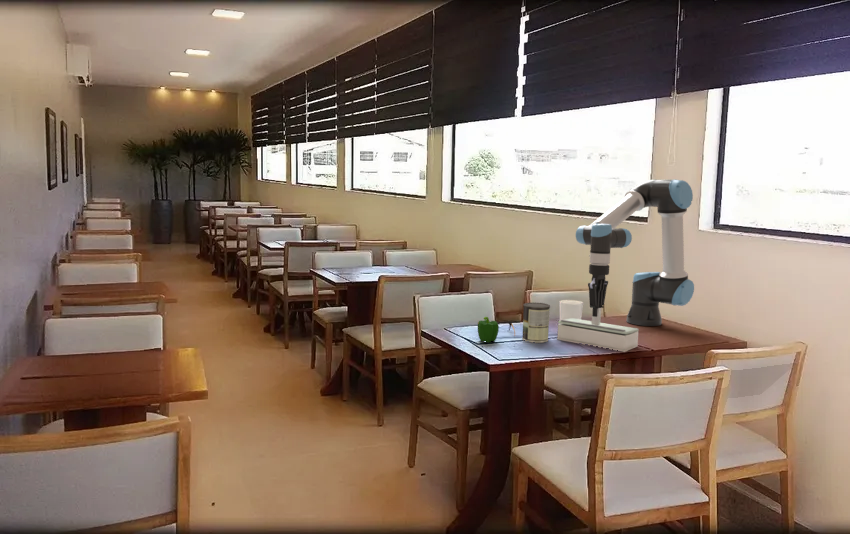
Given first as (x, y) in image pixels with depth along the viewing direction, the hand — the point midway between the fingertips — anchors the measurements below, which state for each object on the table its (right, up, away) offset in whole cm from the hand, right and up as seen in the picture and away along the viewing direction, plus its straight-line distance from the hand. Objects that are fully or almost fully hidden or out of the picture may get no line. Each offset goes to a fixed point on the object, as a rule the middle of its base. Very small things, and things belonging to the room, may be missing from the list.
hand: (595, 324), depth 265 cm
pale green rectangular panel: (+1, -1, +1) cm, 2 cm away
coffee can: (-23, -7, +5) cm, 24 cm away
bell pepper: (-42, -7, 0) cm, 43 cm away
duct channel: (+1, -7, +2) cm, 8 cm away
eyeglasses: (-37, -6, +14) cm, 40 cm away
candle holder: (-5, -5, +25) cm, 26 cm away
